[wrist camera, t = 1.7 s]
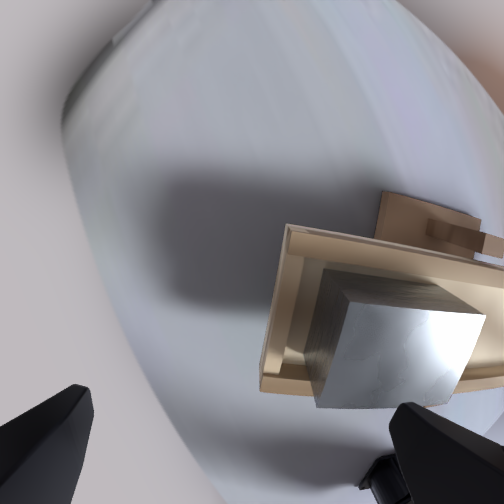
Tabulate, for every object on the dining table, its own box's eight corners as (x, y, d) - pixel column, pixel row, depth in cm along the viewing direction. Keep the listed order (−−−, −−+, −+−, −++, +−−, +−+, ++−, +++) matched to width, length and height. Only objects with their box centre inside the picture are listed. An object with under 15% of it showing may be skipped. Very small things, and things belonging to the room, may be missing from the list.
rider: (412, 360, 16) (447, 403, 11) (302, 354, 16) (316, 407, 11) (438, 285, 15) (485, 315, 10) (323, 268, 15) (349, 301, 10)
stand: (429, 365, 24) (471, 406, 17) (338, 369, 23) (372, 427, 16) (473, 217, 21) (534, 232, 14) (382, 191, 20) (447, 199, 13)
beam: (526, 364, 18) (543, 378, 15) (259, 364, 17) (259, 391, 14) (557, 279, 16) (576, 288, 13) (285, 223, 15) (291, 230, 13)
